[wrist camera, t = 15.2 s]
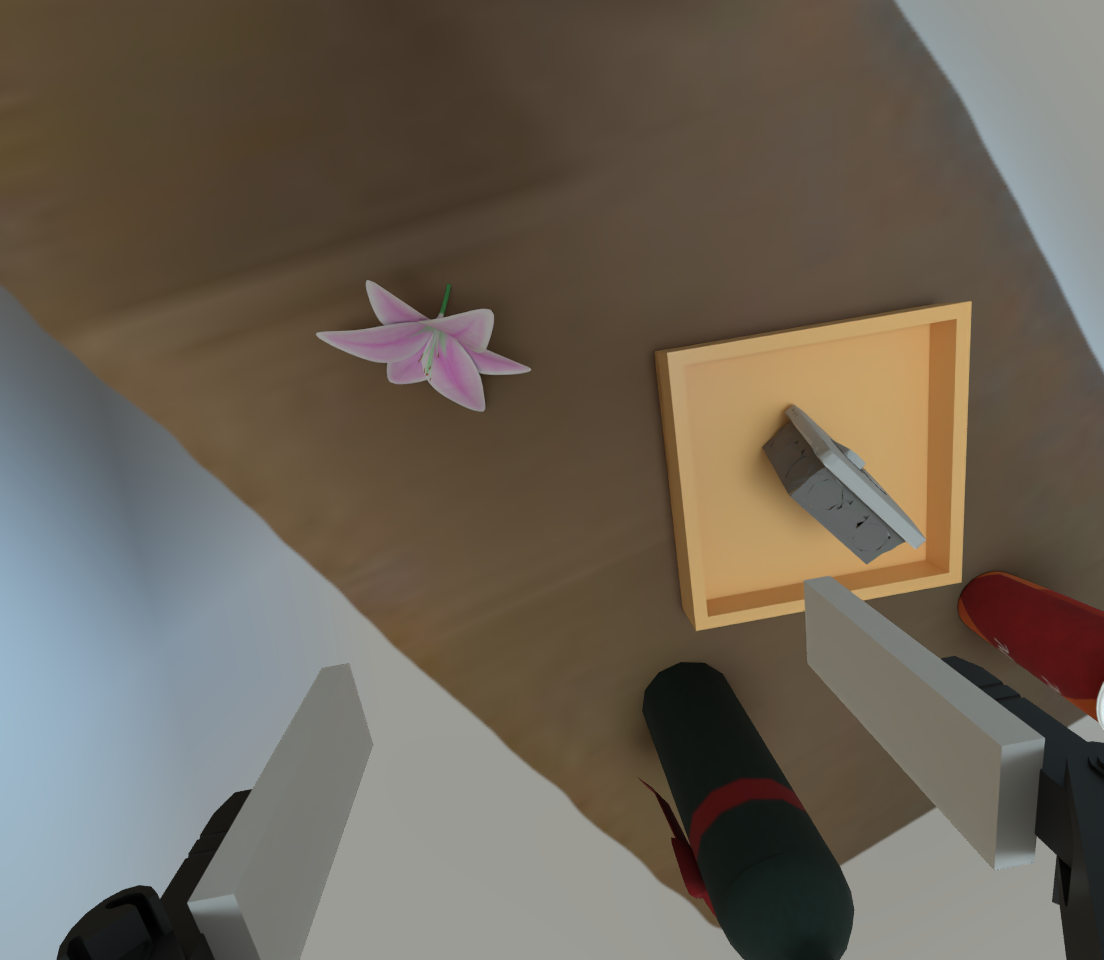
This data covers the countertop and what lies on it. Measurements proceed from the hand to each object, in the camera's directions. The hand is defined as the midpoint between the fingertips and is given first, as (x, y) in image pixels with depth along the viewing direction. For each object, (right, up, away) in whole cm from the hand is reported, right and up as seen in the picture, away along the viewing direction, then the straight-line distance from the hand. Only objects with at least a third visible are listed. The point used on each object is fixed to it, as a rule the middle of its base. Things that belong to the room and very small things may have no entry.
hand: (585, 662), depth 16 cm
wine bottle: (+10, -15, +32) cm, 37 cm away
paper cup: (+37, -5, +32) cm, 49 cm away
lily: (-9, +15, +24) cm, 29 cm away
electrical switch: (+19, +6, +27) cm, 33 cm away
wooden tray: (+19, +6, +27) cm, 34 cm away
